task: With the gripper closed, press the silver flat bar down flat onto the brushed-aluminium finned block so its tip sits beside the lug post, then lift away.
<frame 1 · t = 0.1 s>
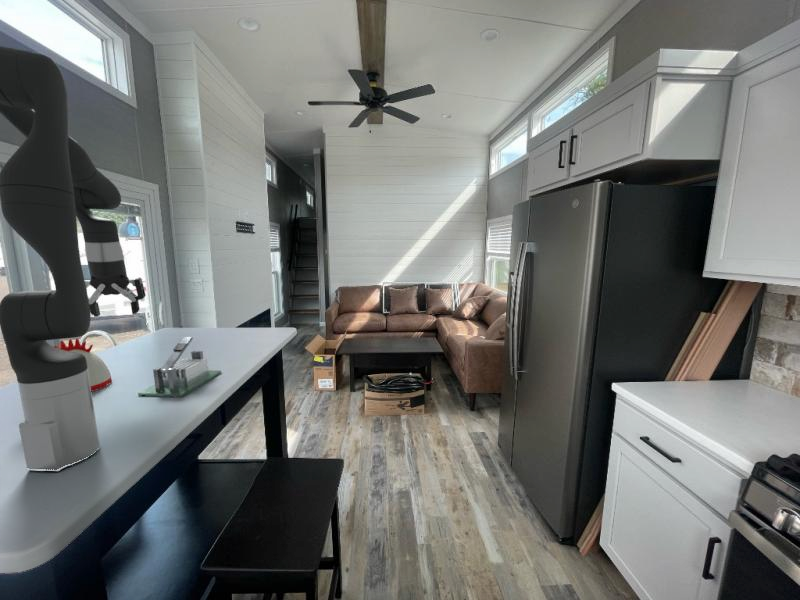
hand: (116, 314, 93), 22 cm above the table, tool pointing down, fingers open, 8 cm apart
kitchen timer: (81, 387, 98), on the table
heatsink: (183, 383, 101), on the table
silver flat bar: (176, 353, 98), point 10 cm above the table, hinge at 32.0°
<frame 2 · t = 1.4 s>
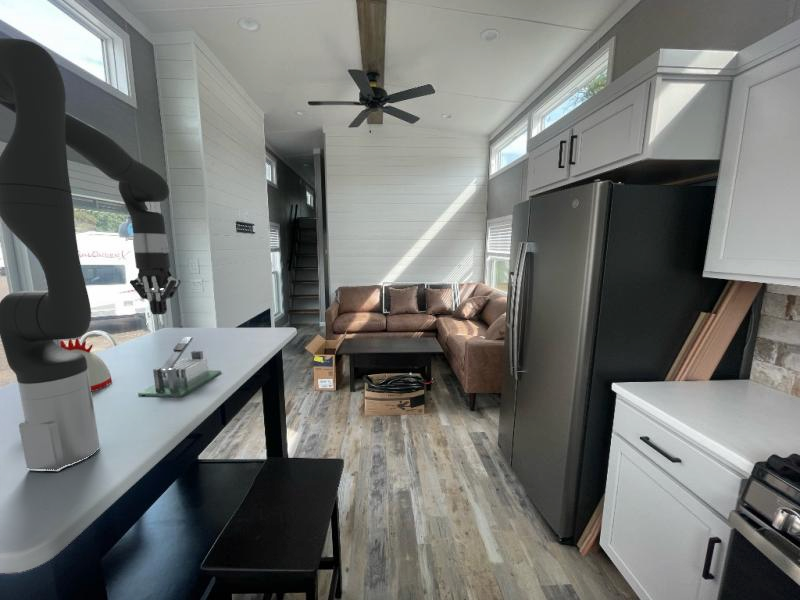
hand: (159, 313, 91), 23 cm above the table, tool pointing down, fingers closed
nothing on the table moved.
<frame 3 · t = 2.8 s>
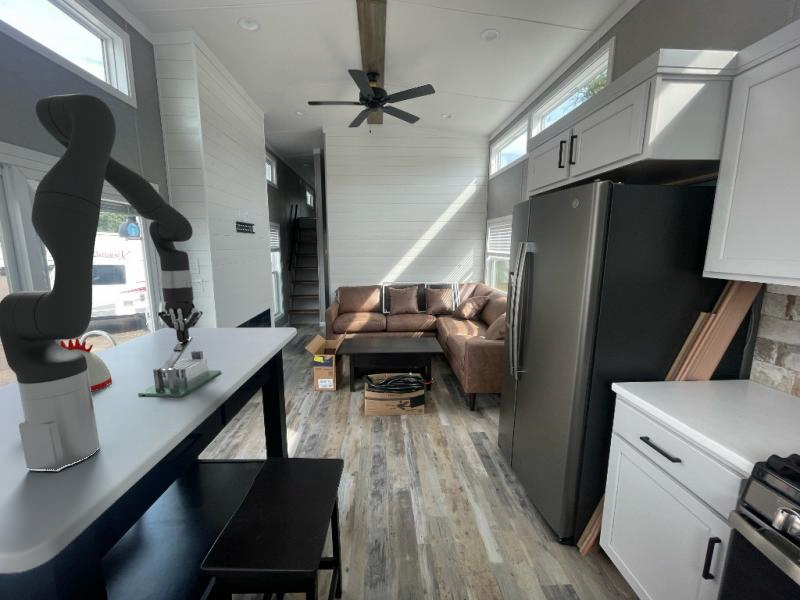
hand: (183, 341, 101), 13 cm above the table, tool pointing down, fingers closed
silver flat bar: (176, 353, 98), point 10 cm above the table, hinge at 32.0°, touching gripper
everything else where it was.
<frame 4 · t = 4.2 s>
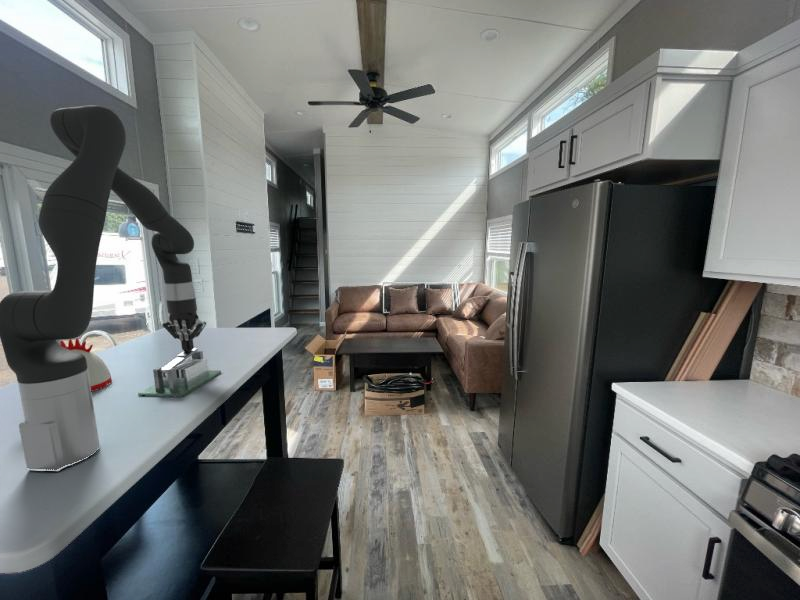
hand: (188, 351, 103), 9 cm above the table, tool pointing down, fingers closed
silver flat bar: (179, 359, 99), point 8 cm above the table, hinge at 11.1°, touching gripper
everything else where it was.
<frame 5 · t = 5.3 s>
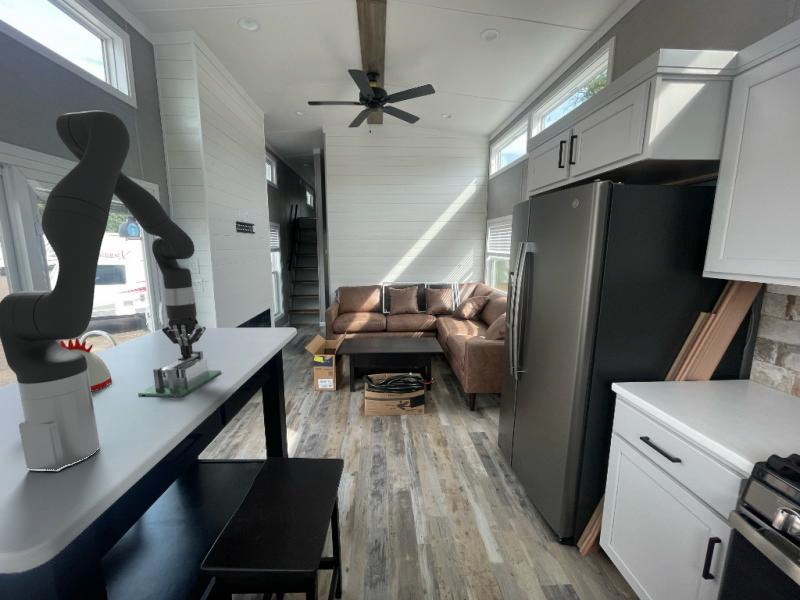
hand: (187, 356, 102), 8 cm above the table, tool pointing down, fingers closed
silver flat bar: (180, 362, 99), point 7 cm above the table, hinge at 2.5°, touching gripper
everything else where it was.
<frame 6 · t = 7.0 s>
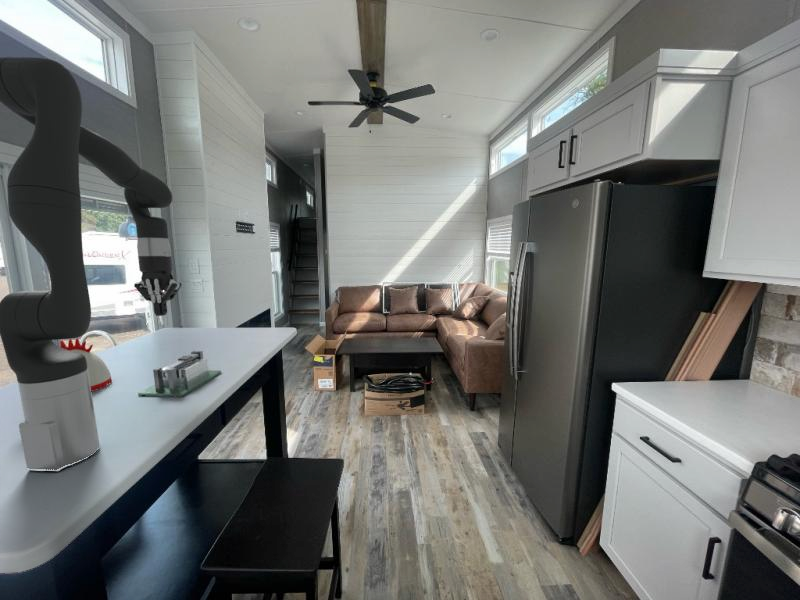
hand: (161, 315, 94), 22 cm above the table, tool pointing down, fingers closed
silver flat bar: (180, 362, 99), point 7 cm above the table, hinge at 2.4°
everything else where it was.
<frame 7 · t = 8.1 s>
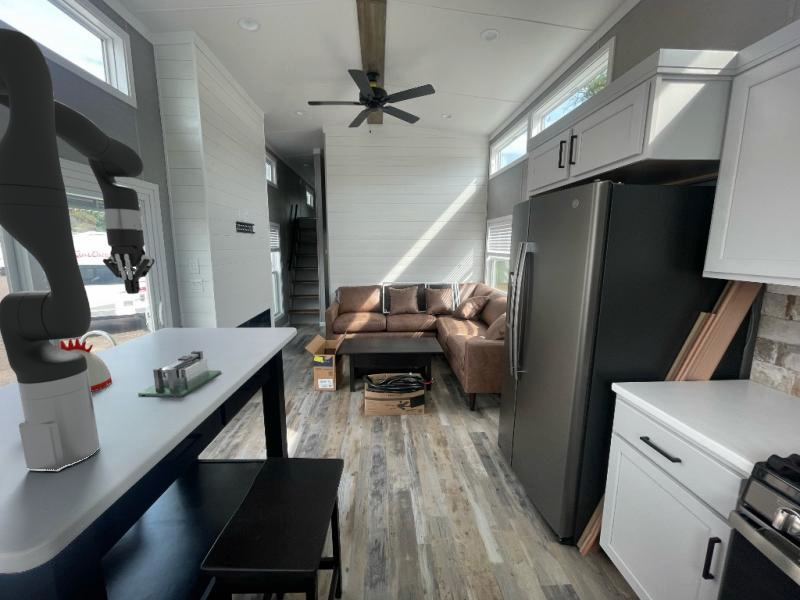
hand: (133, 293, 88), 29 cm above the table, tool pointing down, fingers closed
nothing on the table moved.
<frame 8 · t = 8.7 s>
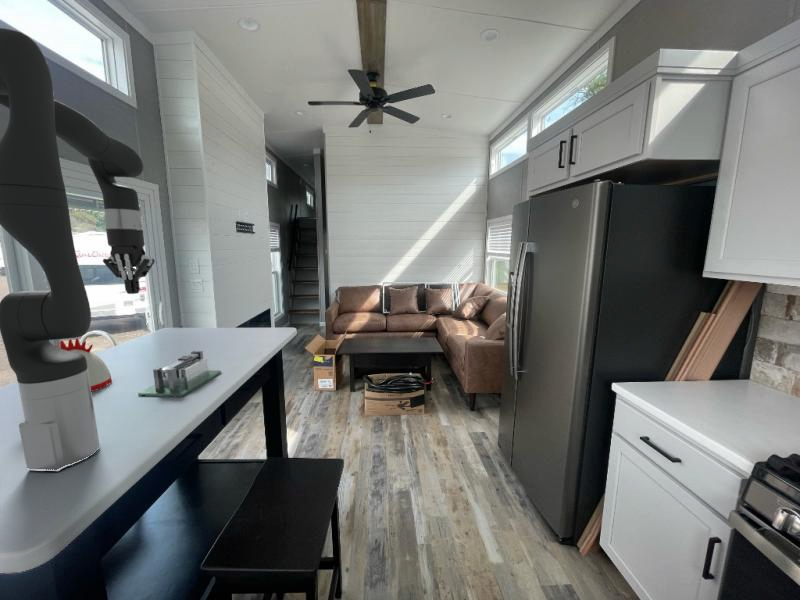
hand: (133, 293, 88), 29 cm above the table, tool pointing down, fingers closed
nothing on the table moved.
at the end: silver flat bar at +2° (first picture: +32°); the gripper is holding nothing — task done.
